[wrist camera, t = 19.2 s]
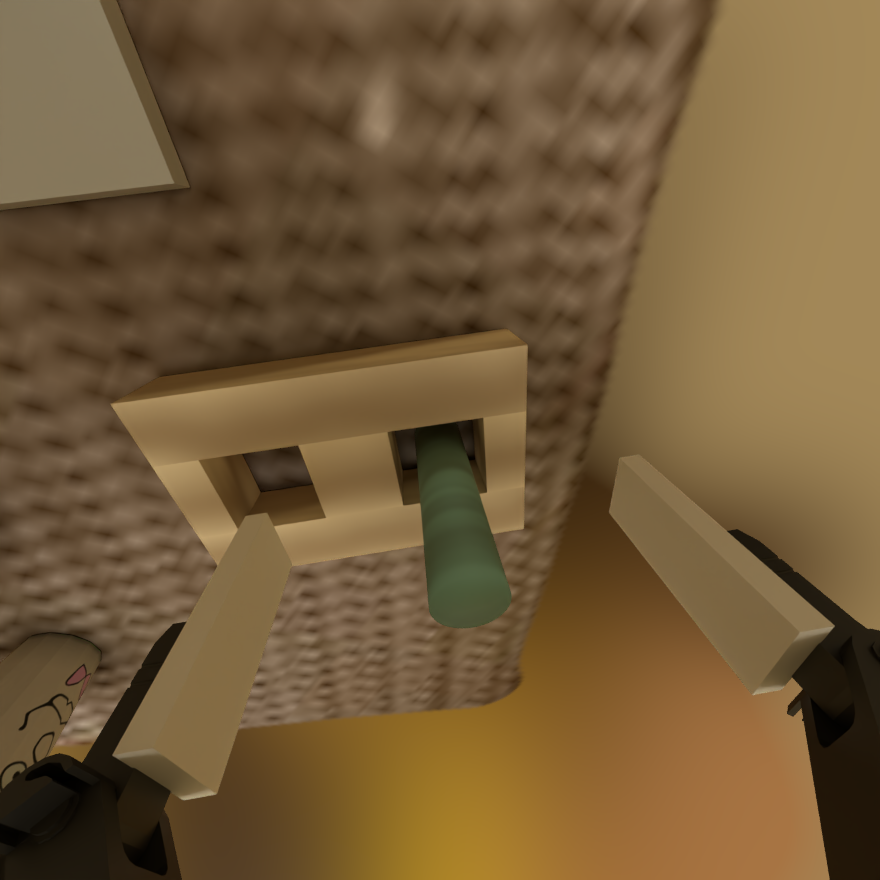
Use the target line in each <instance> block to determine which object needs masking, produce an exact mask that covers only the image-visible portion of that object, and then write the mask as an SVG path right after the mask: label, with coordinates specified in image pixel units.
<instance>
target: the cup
mask: <svg viewBox="0 0 880 880" xmlns="http://www.w3.org/2000/svg"><path fill="white" fill-rule="evenodd" d="M100 661H101V651H100V650H99V649H98V648H97V647H95V646H94V645H93V644H92V643H91V642H89V641H86V640H83V639H81V638H78V637H75V636H73V635H65V634H56V633H46V634H40V635H34V636H31V637H30V638H28V639H27V640H26V641H25V642H23V643H22V644H21V645H20V646H19V647H18V648H17V649H15V650H14V651H13V652H12V653H11V654H10V655H9V656H7V657H6V658H5V659H4V660H3V661H2V662H1V663H0V792H1V791H2V790H3V788H4V787H5V786H6V785H7V784H8V783H9V782H11V781H12V780H13V779H14V778H15V777H17V776H18V775H19V774H20V773H21V772H23V771H24V770H25V769H26V768H28V767H30V766H31V765H33V764H35V763H36V762H38V761H40V760H41V759H43V758H45V757H48V756H49V754H50V752H51V751H52V749H53V747H54V745H55V743H56V741H57V740H58V738H59V736H60V734H61V732H62V731H63V729H64V727H65V725H66V723H67V721H68V720H69V718H70V716H71V714H72V712H73V711H74V709H75V707H76V705H77V703H78V701H79V700H80V698H81V696H82V694H83V692H84V690H85V689H86V687H87V685H88V683H89V681H90V680H91V678H92V676H93V674H94V672H95V670H96V669H97V667H98V665H99V663H100Z"/></svg>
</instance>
